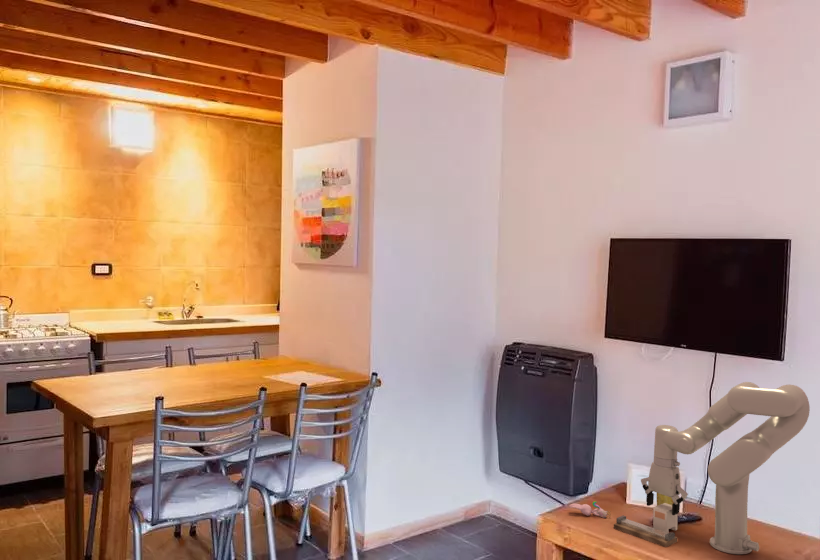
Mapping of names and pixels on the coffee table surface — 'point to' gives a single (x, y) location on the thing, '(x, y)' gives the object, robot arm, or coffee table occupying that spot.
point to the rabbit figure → (587, 509)
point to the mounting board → (644, 535)
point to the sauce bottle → (663, 499)
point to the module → (664, 518)
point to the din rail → (645, 528)
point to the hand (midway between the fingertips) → (662, 509)
